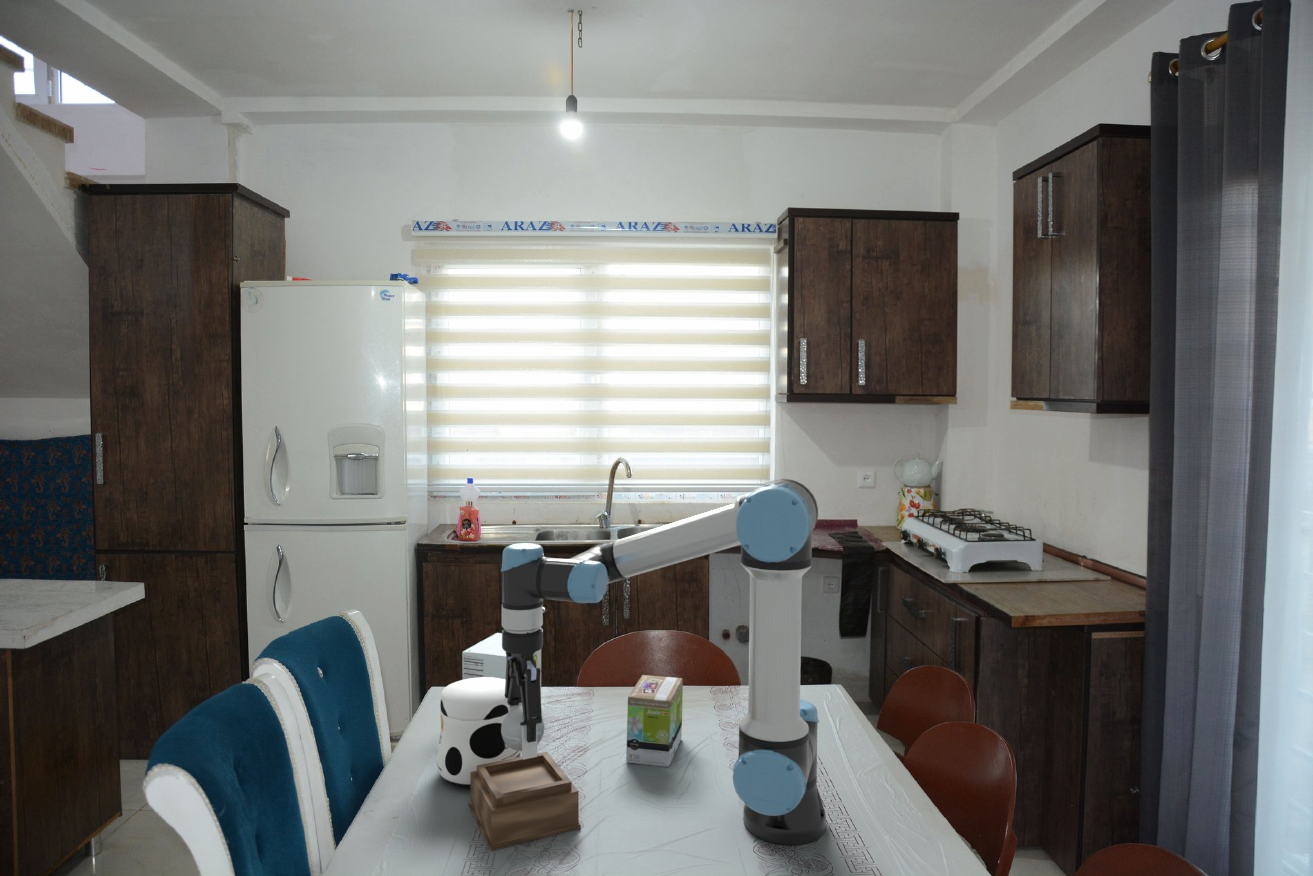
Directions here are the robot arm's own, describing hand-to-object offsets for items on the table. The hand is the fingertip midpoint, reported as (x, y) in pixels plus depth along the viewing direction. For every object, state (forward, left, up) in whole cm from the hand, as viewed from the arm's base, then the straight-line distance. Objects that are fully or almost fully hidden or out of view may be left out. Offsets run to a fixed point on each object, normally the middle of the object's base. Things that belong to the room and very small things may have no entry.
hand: (522, 747), depth 152 cm
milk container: (+21, +3, -14) cm, 25 cm away
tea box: (+15, -35, -14) cm, 40 cm away
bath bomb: (0, 0, 0) cm, 0 cm away
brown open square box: (0, 0, -13) cm, 13 cm away
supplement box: (+49, -10, -14) cm, 52 cm away
